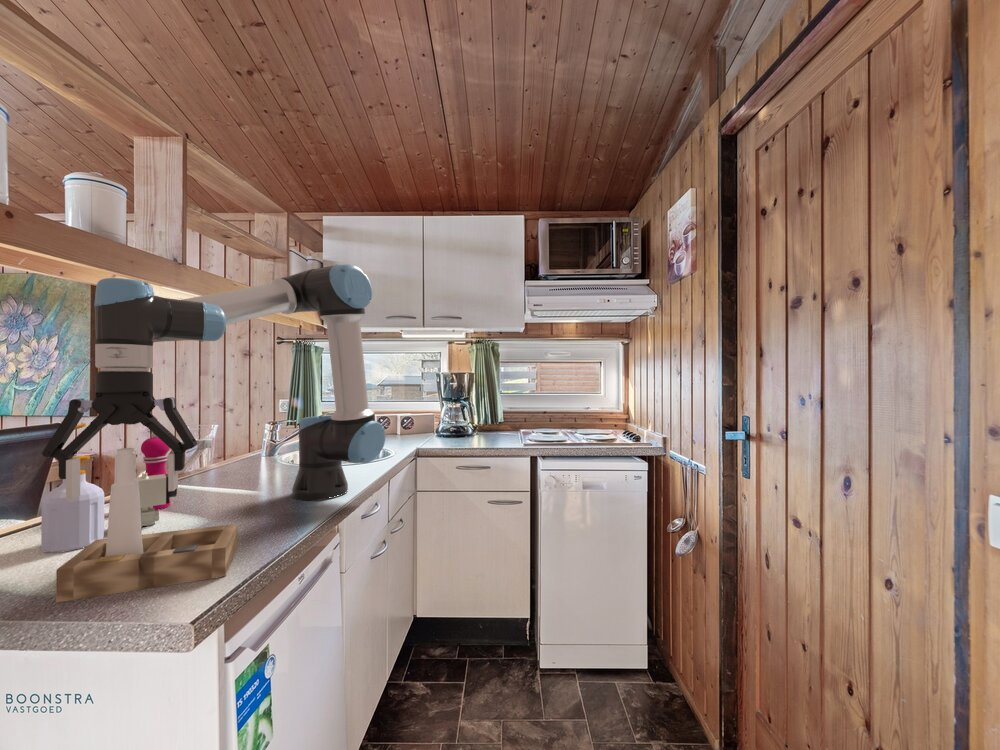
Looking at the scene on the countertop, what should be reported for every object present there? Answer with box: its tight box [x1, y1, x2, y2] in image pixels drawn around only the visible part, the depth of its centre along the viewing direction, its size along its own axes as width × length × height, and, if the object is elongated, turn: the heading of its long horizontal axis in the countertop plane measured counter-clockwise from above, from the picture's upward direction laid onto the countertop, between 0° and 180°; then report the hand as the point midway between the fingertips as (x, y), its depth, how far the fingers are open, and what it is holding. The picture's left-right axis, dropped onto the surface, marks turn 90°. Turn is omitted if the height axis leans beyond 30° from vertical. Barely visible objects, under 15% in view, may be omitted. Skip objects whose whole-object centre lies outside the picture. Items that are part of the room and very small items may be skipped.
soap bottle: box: [40, 423, 105, 553], centre depth 88 cm, size 9×9×25 cm
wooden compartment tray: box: [55, 523, 239, 603], centre depth 76 cm, size 22×13×5 cm, turn 114°
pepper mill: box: [140, 432, 171, 511], centre depth 113 cm, size 7×7×20 cm
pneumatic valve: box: [109, 472, 178, 528], centre depth 100 cm, size 6×12×12 cm, turn 131°
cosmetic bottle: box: [105, 447, 144, 557], centre depth 74 cm, size 6×6×22 cm
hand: (125, 493), depth 74 cm, fingers open, 13 cm apart
